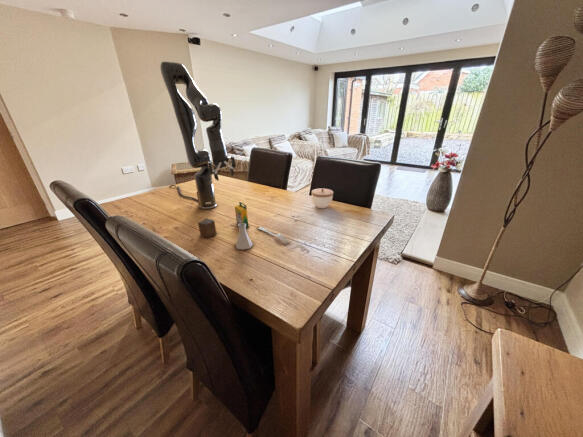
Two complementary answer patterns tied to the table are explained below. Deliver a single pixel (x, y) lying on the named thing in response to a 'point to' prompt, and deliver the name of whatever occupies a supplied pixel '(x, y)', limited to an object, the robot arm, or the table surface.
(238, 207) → the crayon box
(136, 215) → the table surface
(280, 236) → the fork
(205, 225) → the walnut block
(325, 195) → the lidded bowl
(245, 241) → the flask
